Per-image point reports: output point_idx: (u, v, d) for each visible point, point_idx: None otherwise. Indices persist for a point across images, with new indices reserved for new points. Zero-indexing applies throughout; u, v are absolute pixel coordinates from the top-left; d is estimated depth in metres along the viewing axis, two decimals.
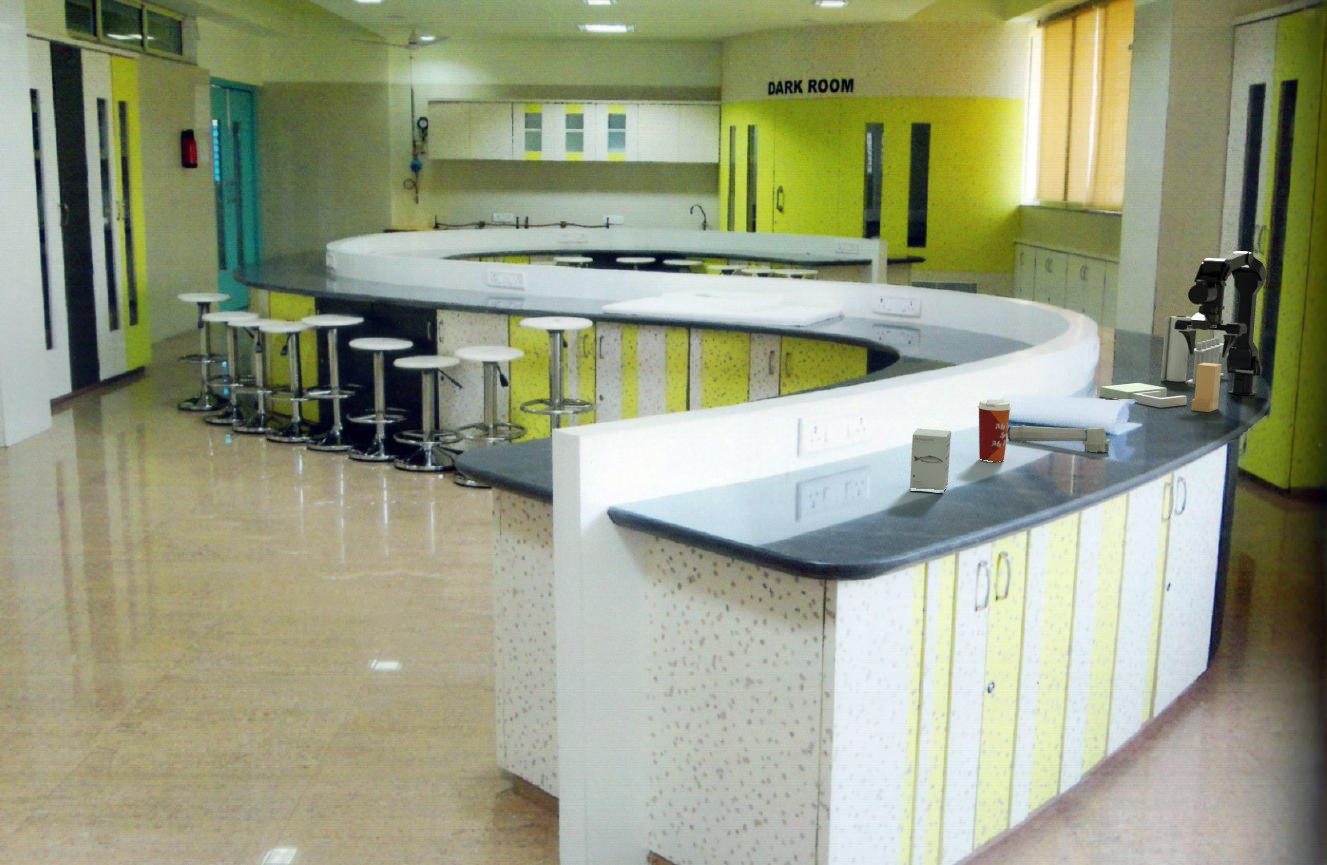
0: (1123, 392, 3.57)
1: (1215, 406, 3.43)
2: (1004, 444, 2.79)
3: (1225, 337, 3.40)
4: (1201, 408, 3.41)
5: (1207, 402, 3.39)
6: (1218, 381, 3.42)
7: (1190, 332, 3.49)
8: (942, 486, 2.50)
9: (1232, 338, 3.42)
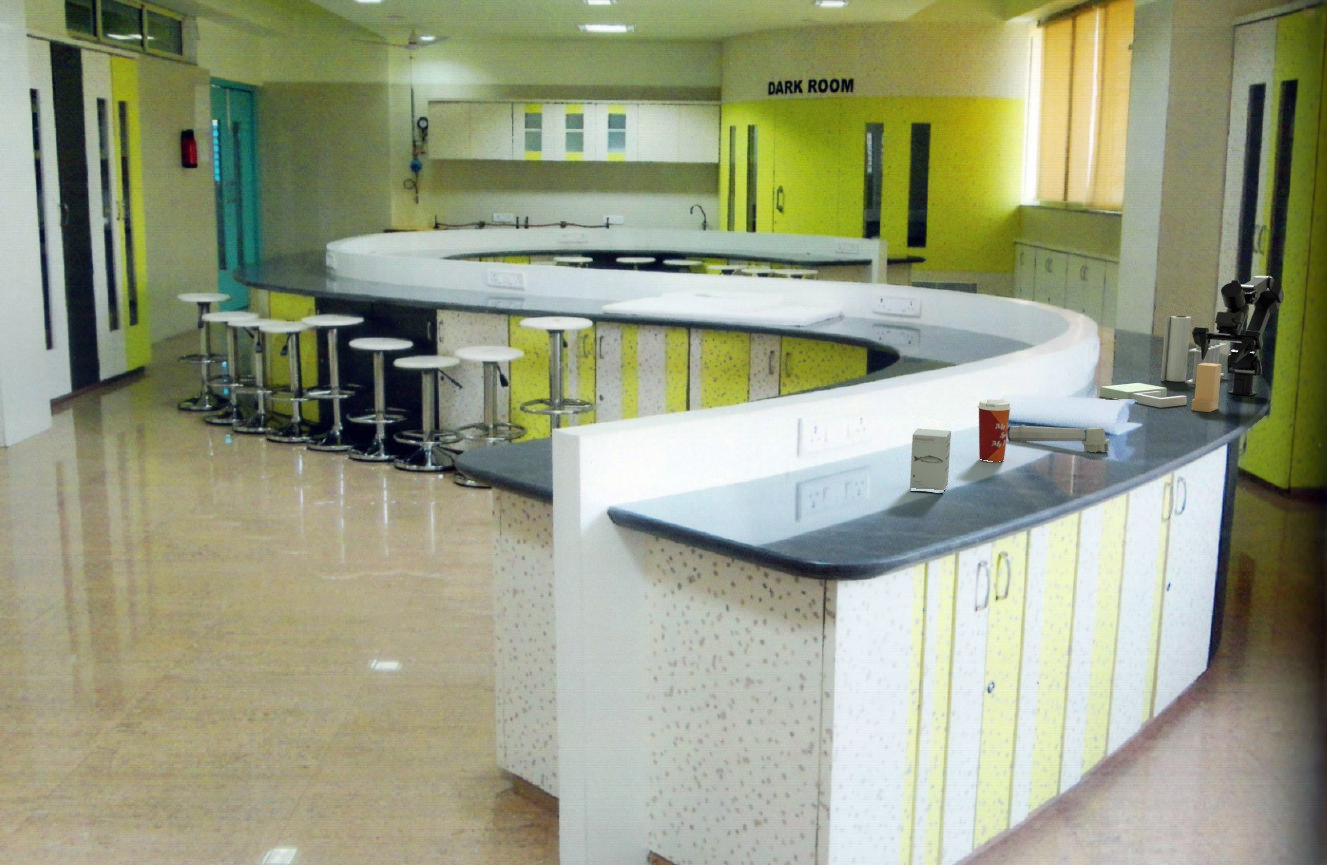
0: (1123, 392, 3.57)
1: (1215, 406, 3.43)
2: (1004, 444, 2.79)
3: (1243, 340, 3.44)
4: (1201, 408, 3.41)
5: (1207, 402, 3.39)
6: (1218, 381, 3.42)
7: (1206, 339, 3.52)
8: (942, 486, 2.50)
9: (1247, 349, 3.46)
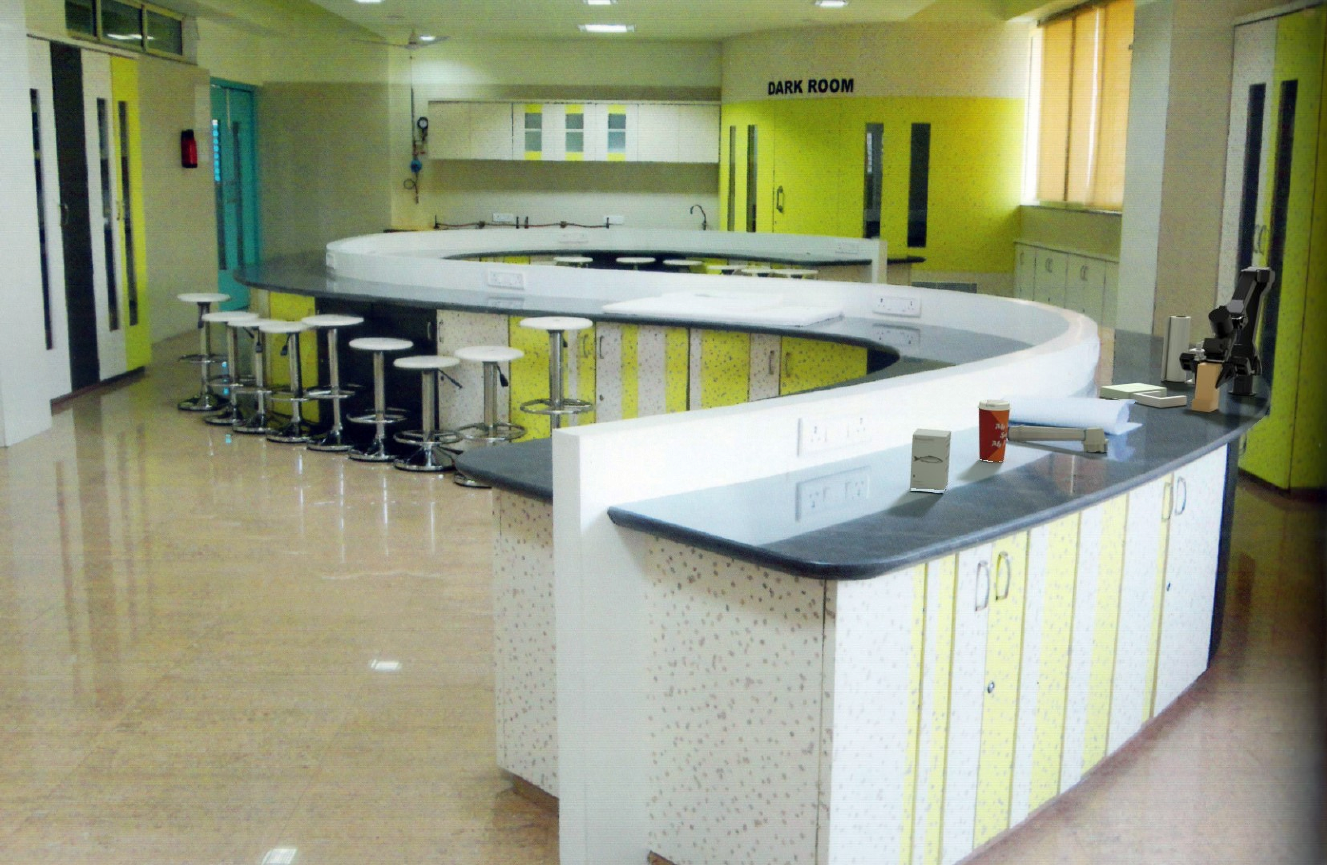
0: (1123, 392, 3.57)
1: (1215, 406, 3.43)
2: (1004, 444, 2.79)
3: (1224, 366, 3.40)
4: (1201, 408, 3.41)
5: (1207, 402, 3.39)
6: None
7: None
8: (942, 486, 2.50)
9: (1228, 375, 3.42)
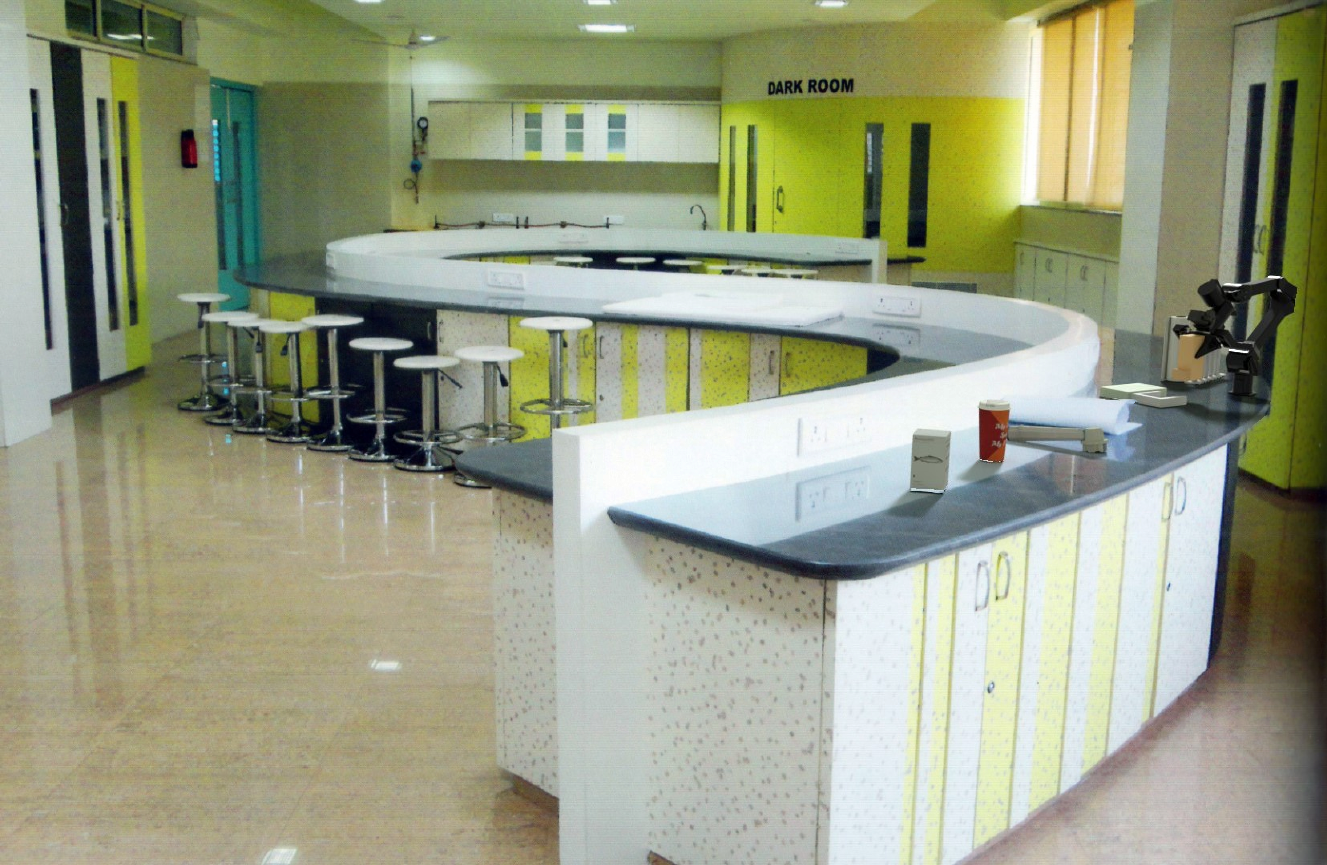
0: (1123, 392, 3.57)
1: (1197, 376, 3.55)
2: (1004, 444, 2.79)
3: (1206, 337, 3.52)
4: (1179, 377, 3.55)
5: (1184, 372, 3.53)
6: None
7: None
8: (942, 486, 2.50)
9: (1211, 346, 3.52)
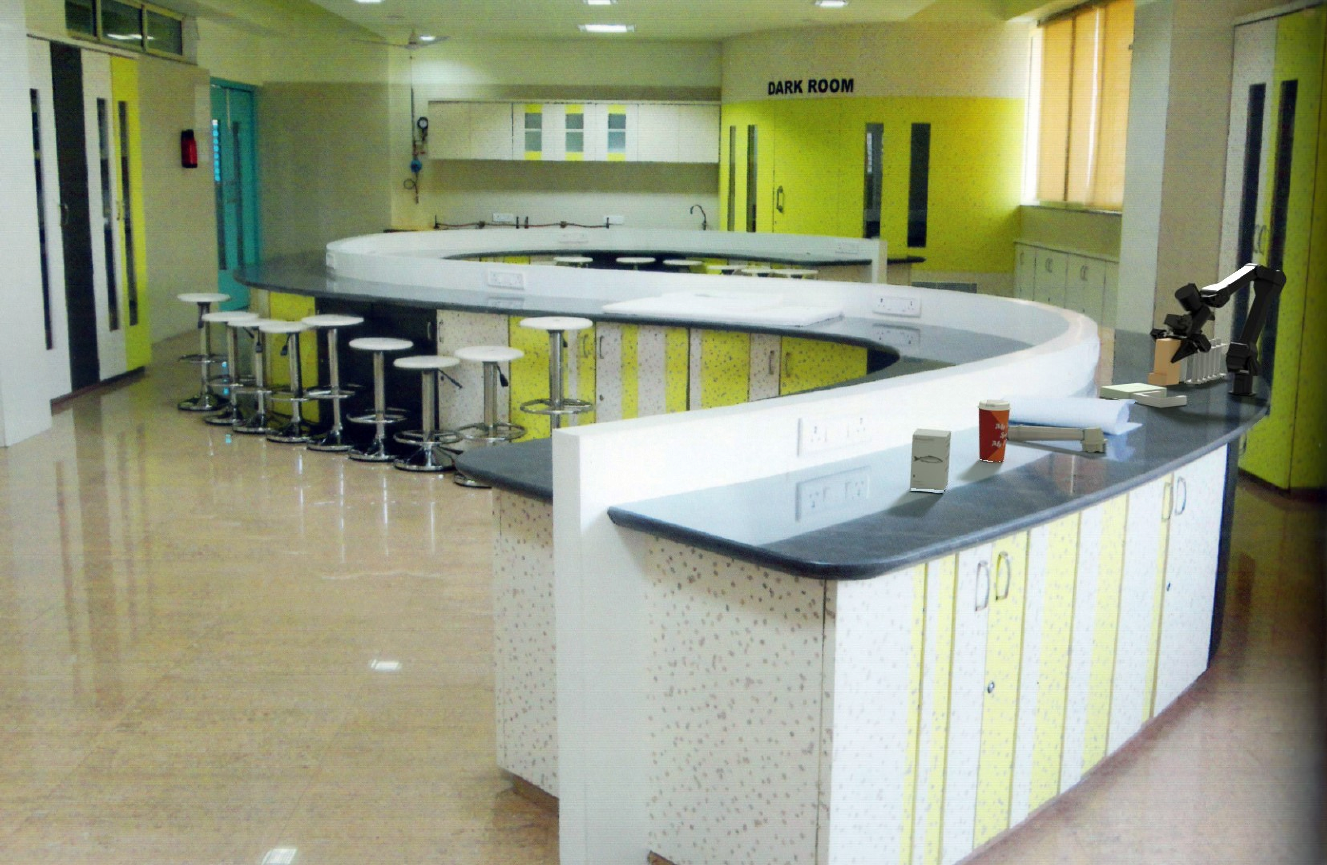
0: (1123, 392, 3.57)
1: (1173, 381, 3.51)
2: (1004, 444, 2.79)
3: (1182, 342, 3.48)
4: (1155, 382, 3.51)
5: (1160, 376, 3.49)
6: None
7: None
8: (942, 486, 2.50)
9: (1188, 351, 3.49)
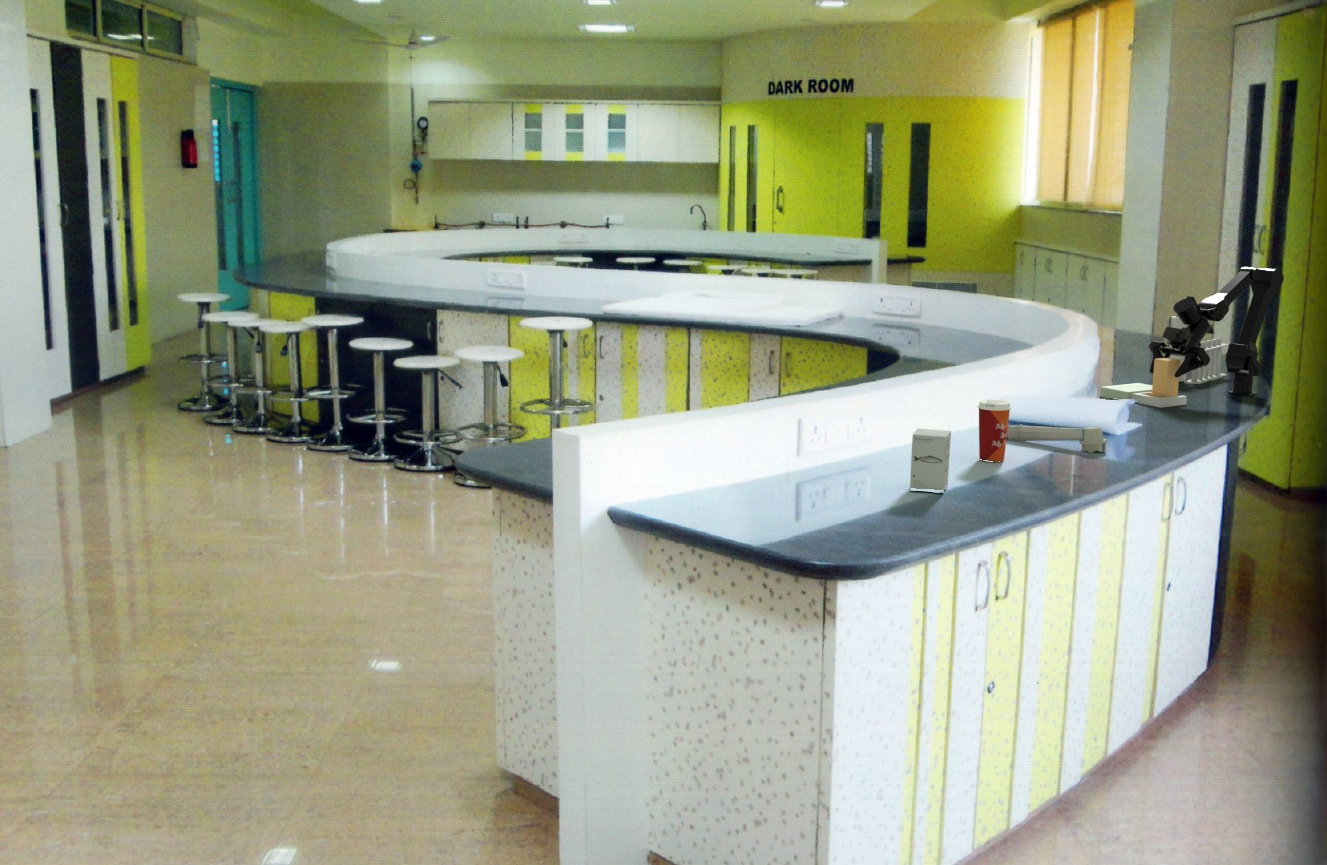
0: (1123, 392, 3.57)
1: None
2: (1004, 444, 2.79)
3: (1186, 356, 3.47)
4: None
5: (1158, 395, 3.50)
6: None
7: (1160, 353, 3.57)
8: (942, 486, 2.50)
9: (1192, 365, 3.48)
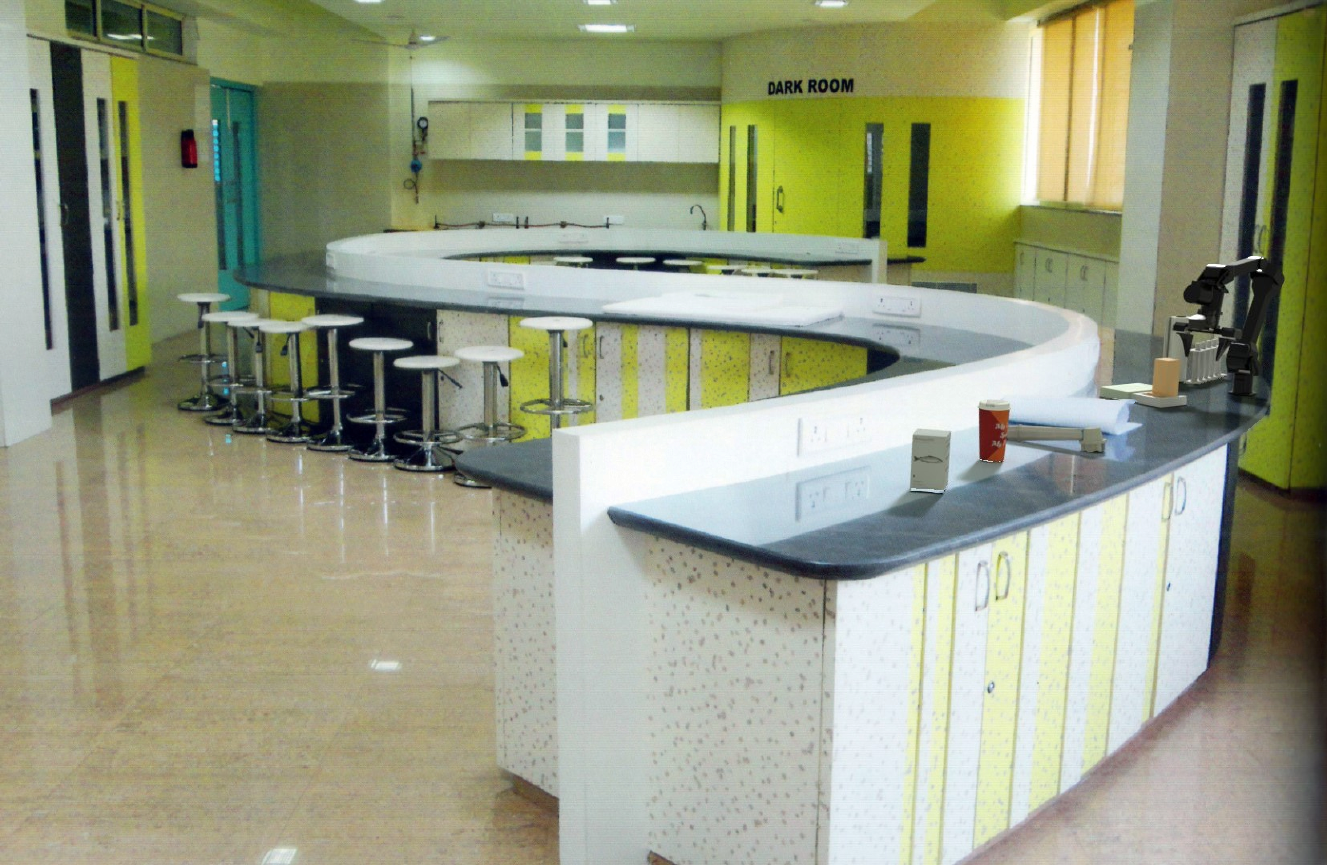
0: (1123, 392, 3.57)
1: None
2: (1004, 444, 2.79)
3: (1220, 340, 3.49)
4: None
5: (1158, 395, 3.50)
6: (1175, 376, 3.51)
7: (1187, 335, 3.58)
8: (942, 486, 2.50)
9: (1227, 343, 3.51)
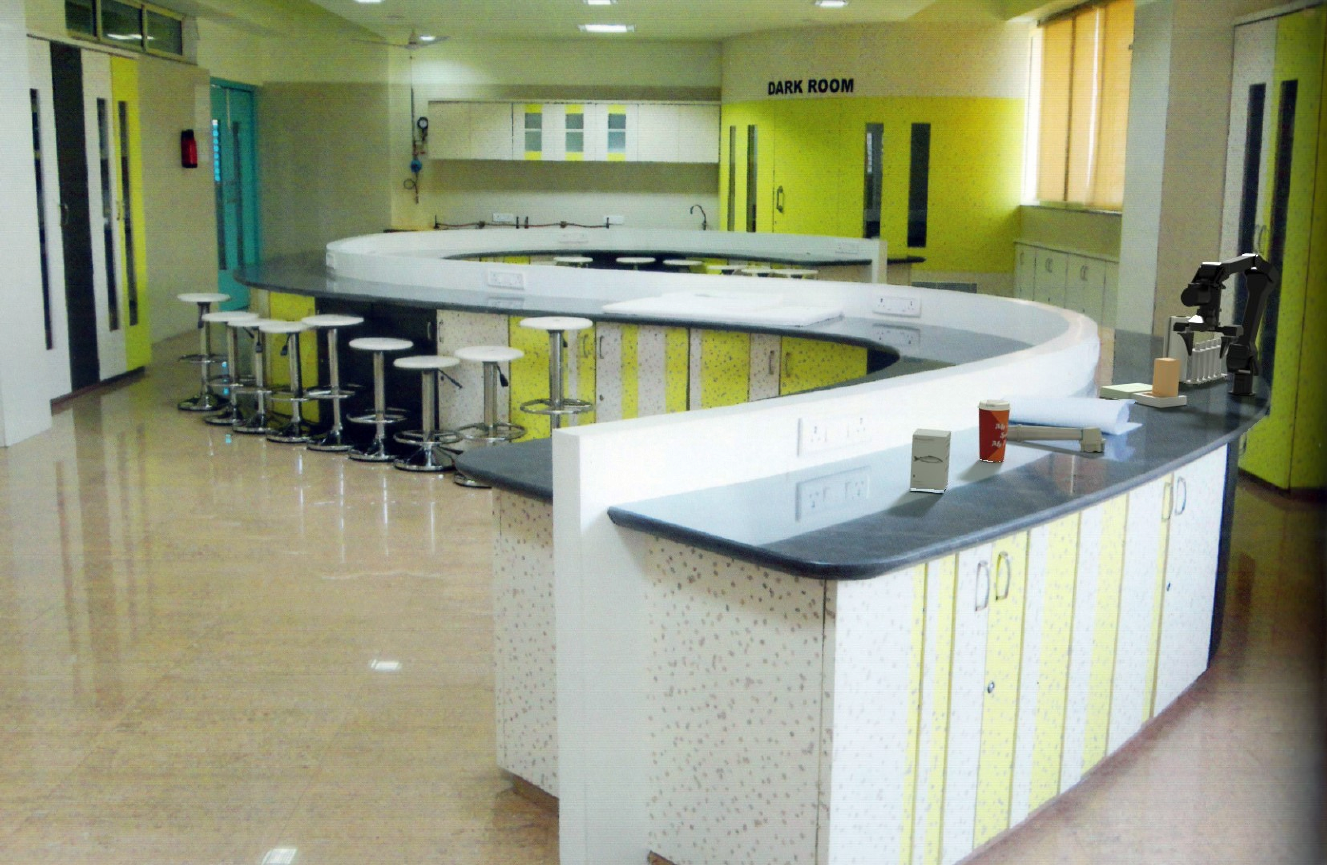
0: (1123, 392, 3.57)
1: None
2: (1004, 444, 2.79)
3: (1222, 339, 3.49)
4: None
5: (1158, 395, 3.50)
6: (1175, 376, 3.51)
7: (1188, 334, 3.57)
8: (942, 486, 2.50)
9: (1229, 340, 3.51)
